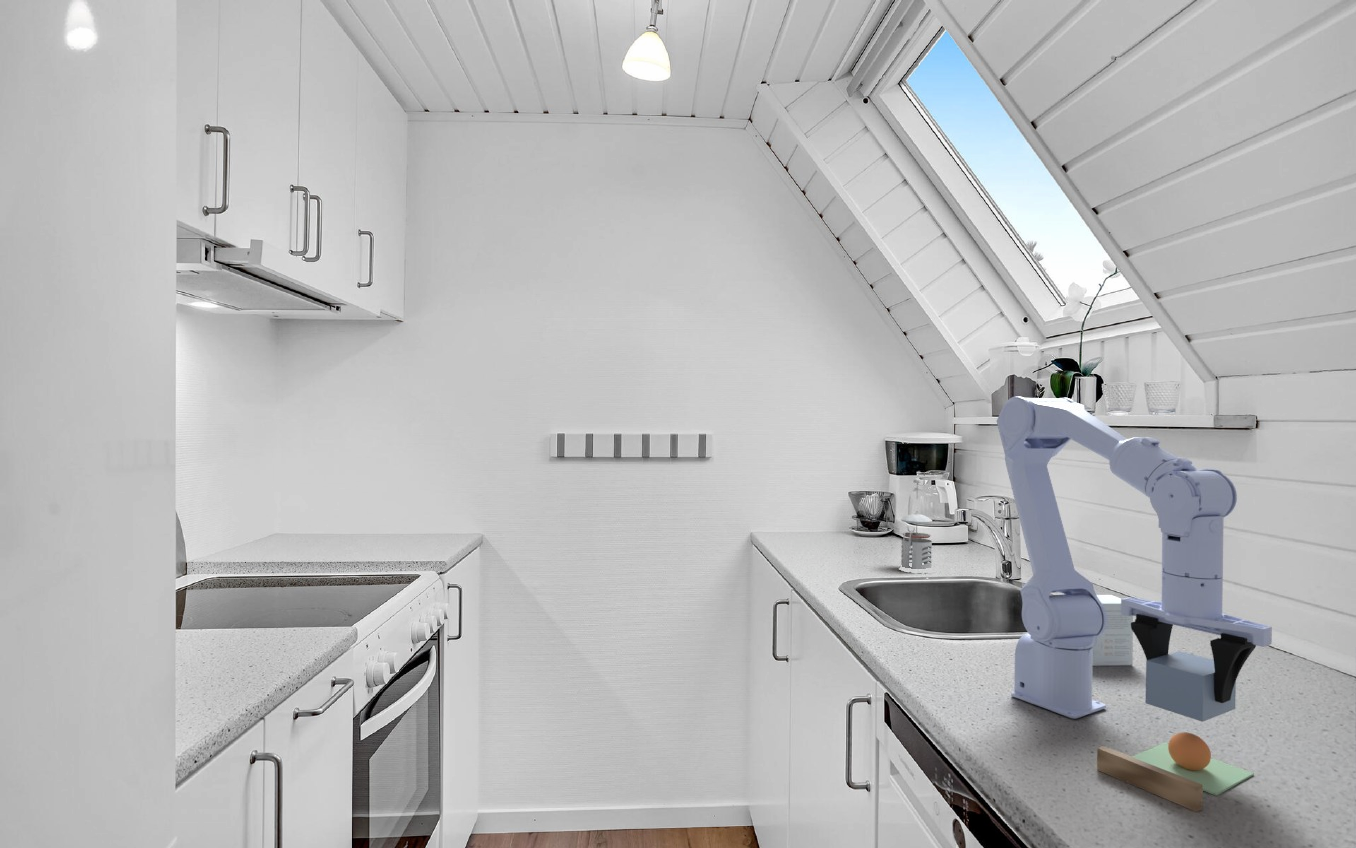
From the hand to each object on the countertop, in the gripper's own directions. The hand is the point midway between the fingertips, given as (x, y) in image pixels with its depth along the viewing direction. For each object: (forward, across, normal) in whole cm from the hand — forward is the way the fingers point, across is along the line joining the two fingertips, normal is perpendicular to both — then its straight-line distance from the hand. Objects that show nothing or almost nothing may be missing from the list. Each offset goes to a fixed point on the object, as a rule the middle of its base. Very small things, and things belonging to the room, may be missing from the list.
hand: (1190, 691), depth 81 cm
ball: (+7, 0, 0) cm, 7 cm away
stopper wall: (+9, 0, -9) cm, 13 cm away
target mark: (+9, 0, 0) cm, 9 cm away
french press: (+9, -91, +59) cm, 109 cm away
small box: (+9, -26, +29) cm, 40 cm away
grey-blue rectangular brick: (+2, 0, 0) cm, 2 cm away
